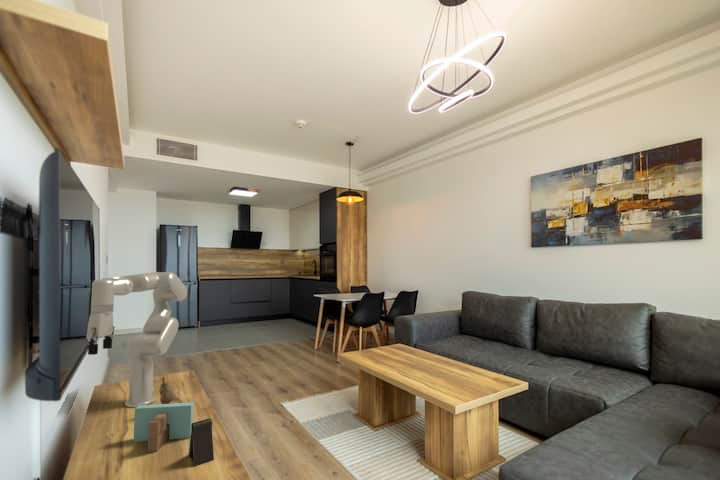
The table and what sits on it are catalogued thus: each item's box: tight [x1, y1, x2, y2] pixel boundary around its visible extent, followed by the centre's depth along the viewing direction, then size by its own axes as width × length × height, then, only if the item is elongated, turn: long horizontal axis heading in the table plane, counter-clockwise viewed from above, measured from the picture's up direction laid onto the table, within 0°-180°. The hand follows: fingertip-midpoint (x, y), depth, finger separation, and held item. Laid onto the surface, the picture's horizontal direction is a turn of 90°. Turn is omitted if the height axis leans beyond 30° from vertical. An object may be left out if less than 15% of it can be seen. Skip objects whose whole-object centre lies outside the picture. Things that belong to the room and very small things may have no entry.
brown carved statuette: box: [159, 376, 184, 404], centre depth 152 cm, size 12×6×18 cm, turn 122°
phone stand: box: [187, 418, 215, 467], centre depth 118 cm, size 9×6×12 cm, turn 38°
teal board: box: [133, 401, 195, 443], centre depth 131 cm, size 3×20×12 cm, turn 98°
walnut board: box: [147, 399, 181, 453], centre depth 131 cm, size 20×3×10 cm, turn 8°
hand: (100, 351), depth 141 cm, fingers open, 9 cm apart
